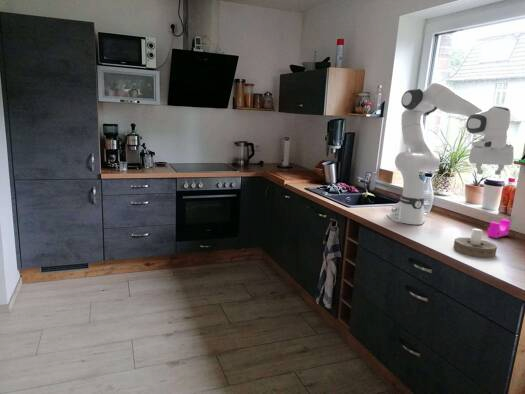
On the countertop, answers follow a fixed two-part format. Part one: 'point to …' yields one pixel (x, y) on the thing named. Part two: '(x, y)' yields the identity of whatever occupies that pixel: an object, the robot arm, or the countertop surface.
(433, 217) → the countertop surface
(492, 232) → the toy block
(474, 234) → the dowel
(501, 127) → the robot arm
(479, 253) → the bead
